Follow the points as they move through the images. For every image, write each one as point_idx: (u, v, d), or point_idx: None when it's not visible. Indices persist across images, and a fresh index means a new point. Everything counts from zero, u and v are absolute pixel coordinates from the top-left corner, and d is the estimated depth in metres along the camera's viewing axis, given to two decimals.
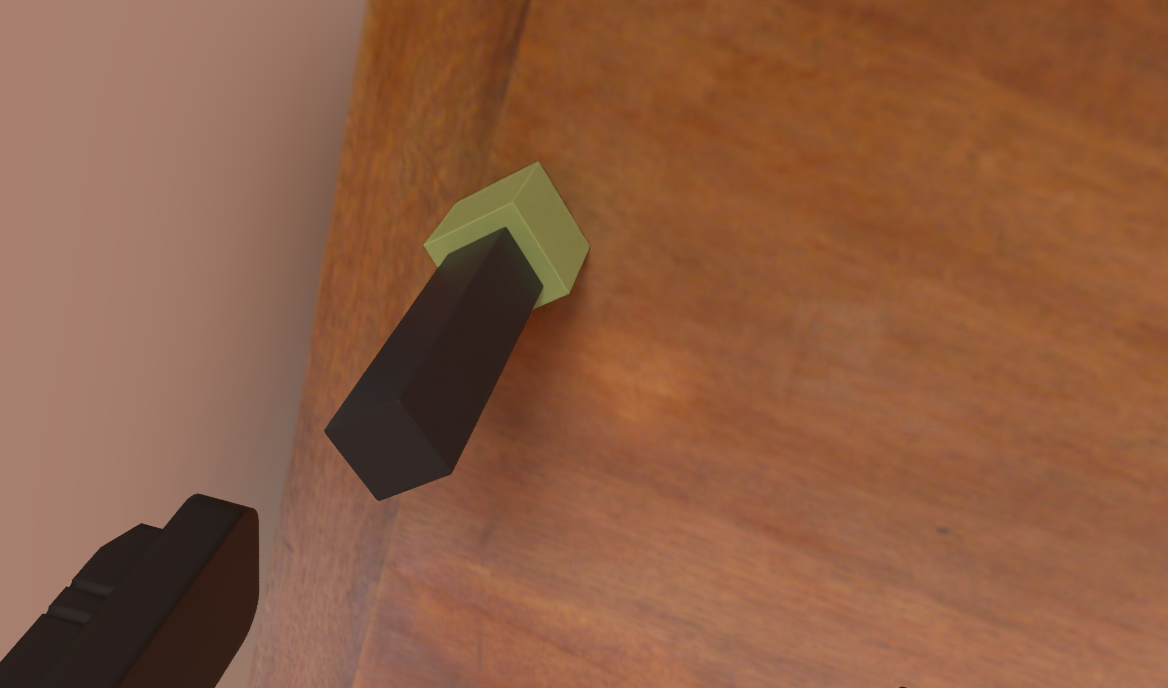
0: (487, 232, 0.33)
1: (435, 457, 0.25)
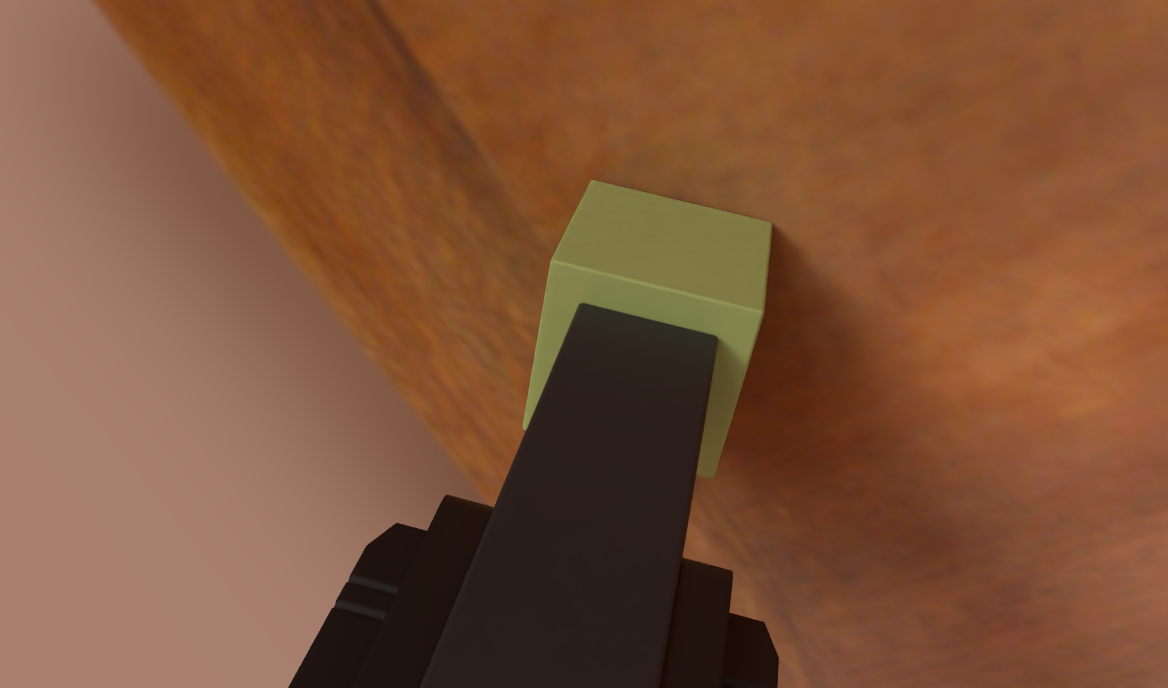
0: None
1: None
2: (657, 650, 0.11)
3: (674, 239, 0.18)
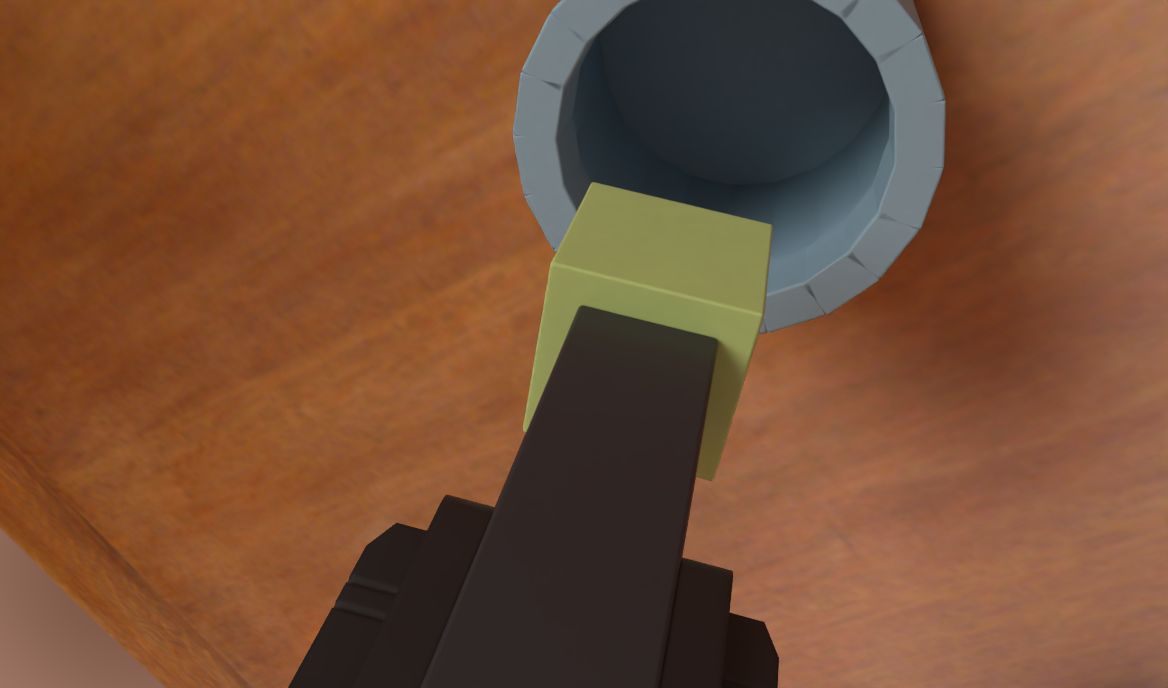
0: None
1: None
2: (656, 653, 0.11)
3: (674, 241, 0.18)
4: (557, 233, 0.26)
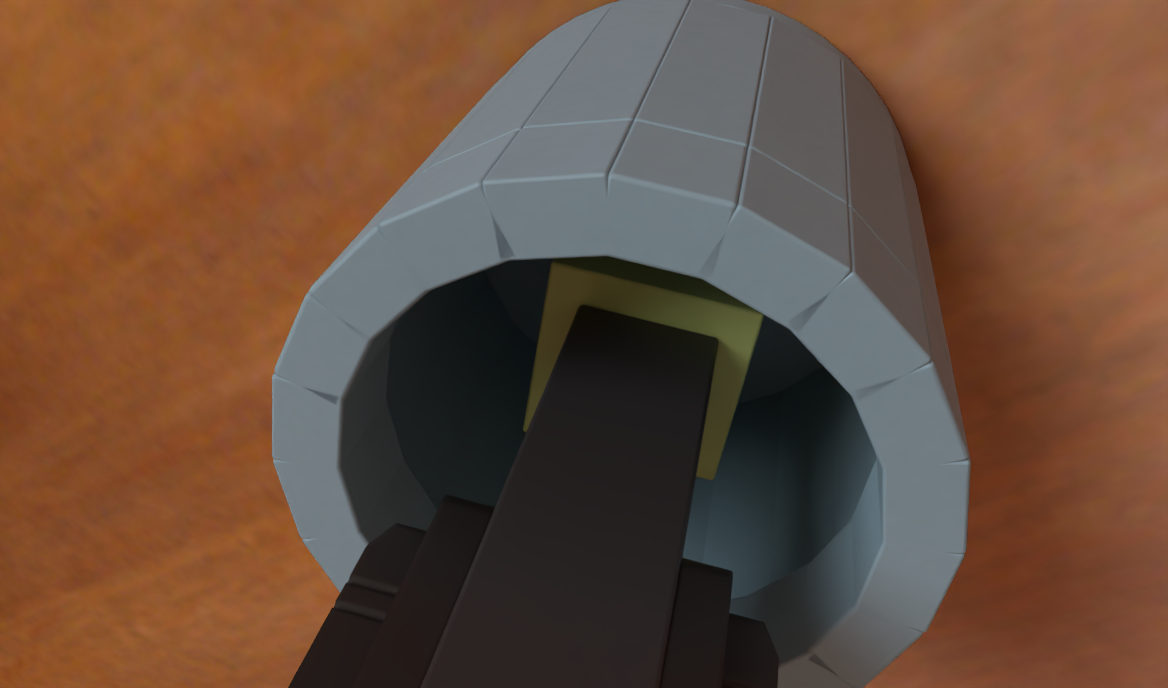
0: None
1: None
2: (656, 652, 0.11)
3: None
4: None
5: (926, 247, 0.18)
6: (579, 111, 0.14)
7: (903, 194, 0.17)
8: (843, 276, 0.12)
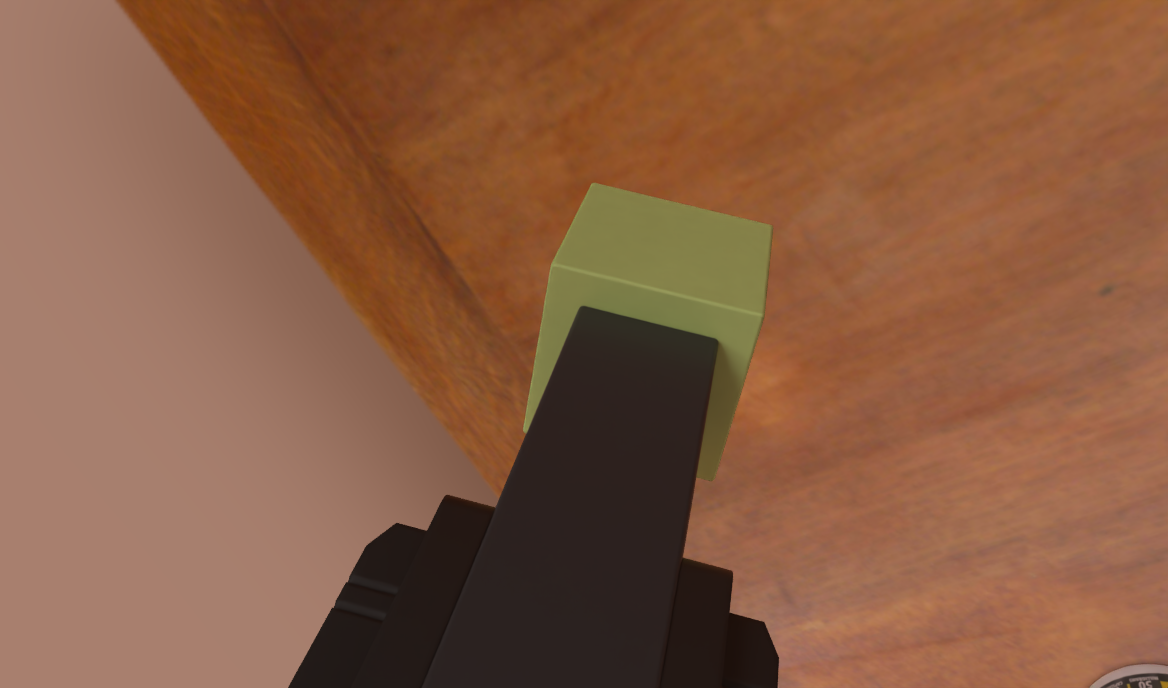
0: None
1: None
2: (657, 654, 0.11)
3: (674, 242, 0.18)
4: None
5: None
6: None
7: None
8: None
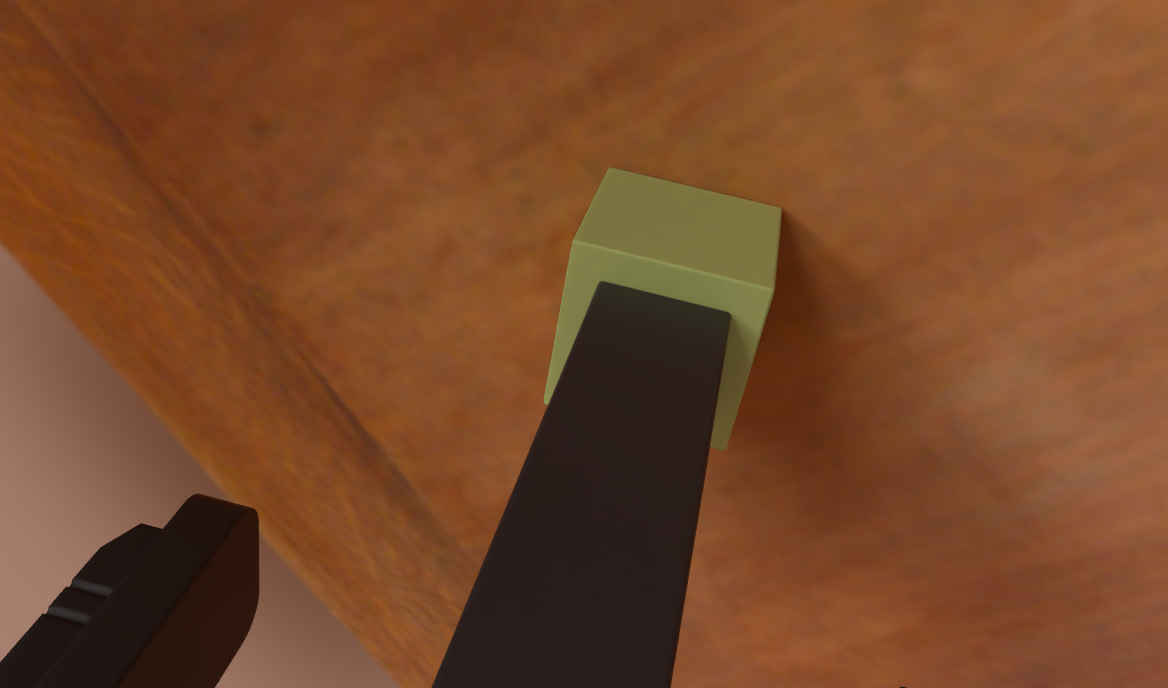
0: None
1: None
2: (677, 589, 0.12)
3: (688, 222, 0.19)
4: None
5: None
6: None
7: None
8: None
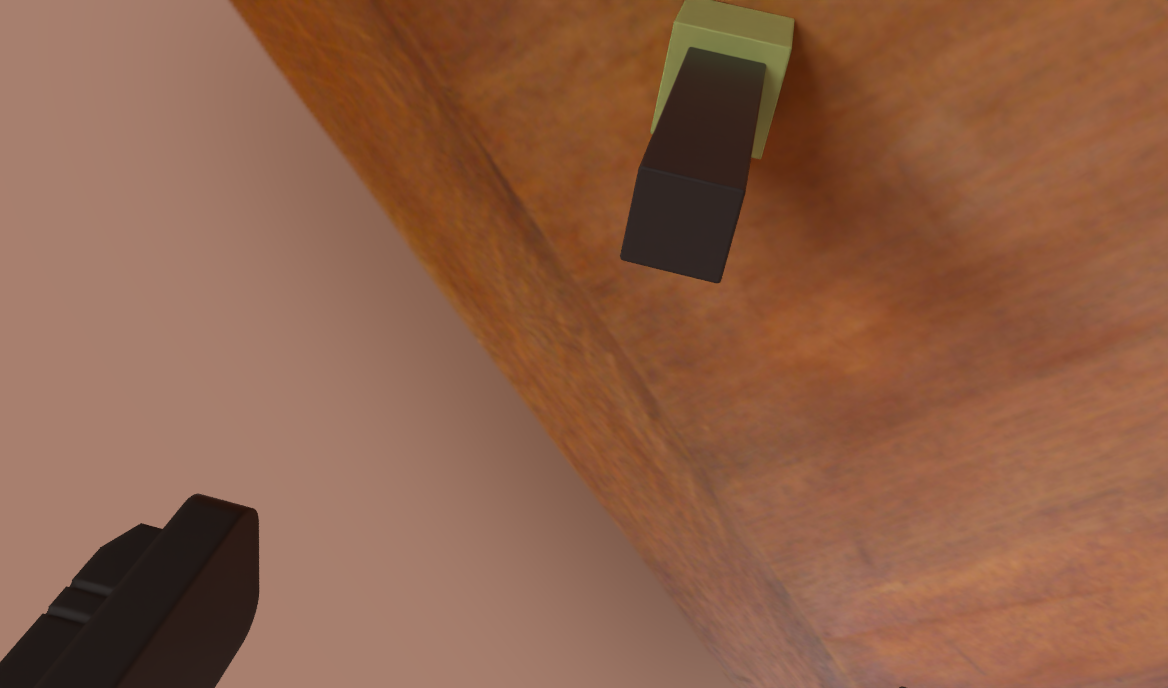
0: None
1: (717, 189, 0.23)
2: (749, 141, 0.25)
3: (739, 20, 0.32)
4: None
5: None
6: None
7: None
8: None
